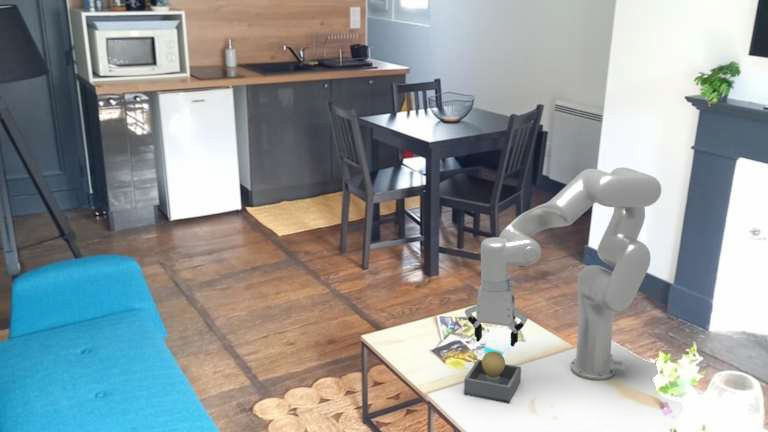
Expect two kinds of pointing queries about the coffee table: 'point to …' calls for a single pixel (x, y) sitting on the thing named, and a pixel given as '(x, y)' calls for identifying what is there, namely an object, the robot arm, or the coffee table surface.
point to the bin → (492, 391)
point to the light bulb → (493, 366)
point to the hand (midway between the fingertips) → (496, 341)
